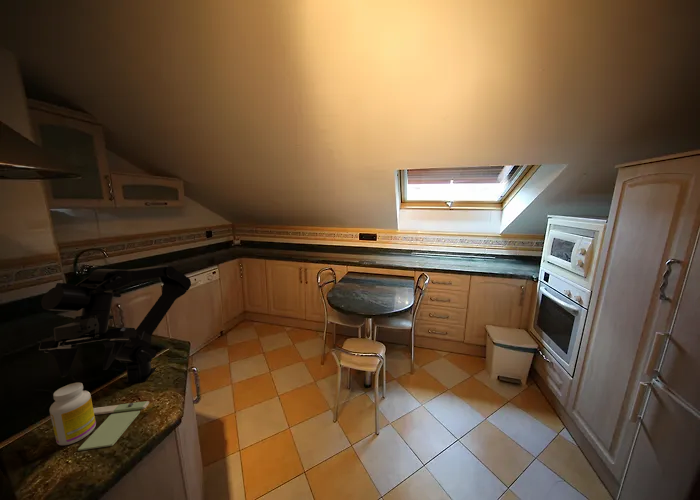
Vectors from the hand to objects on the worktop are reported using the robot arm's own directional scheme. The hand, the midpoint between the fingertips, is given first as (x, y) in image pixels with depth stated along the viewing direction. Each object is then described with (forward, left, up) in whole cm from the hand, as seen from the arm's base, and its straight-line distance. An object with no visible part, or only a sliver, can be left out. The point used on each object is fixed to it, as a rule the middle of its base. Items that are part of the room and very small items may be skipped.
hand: (84, 373), depth 62 cm
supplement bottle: (+4, 0, -14) cm, 15 cm away
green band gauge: (+3, +3, -14) cm, 14 cm away
